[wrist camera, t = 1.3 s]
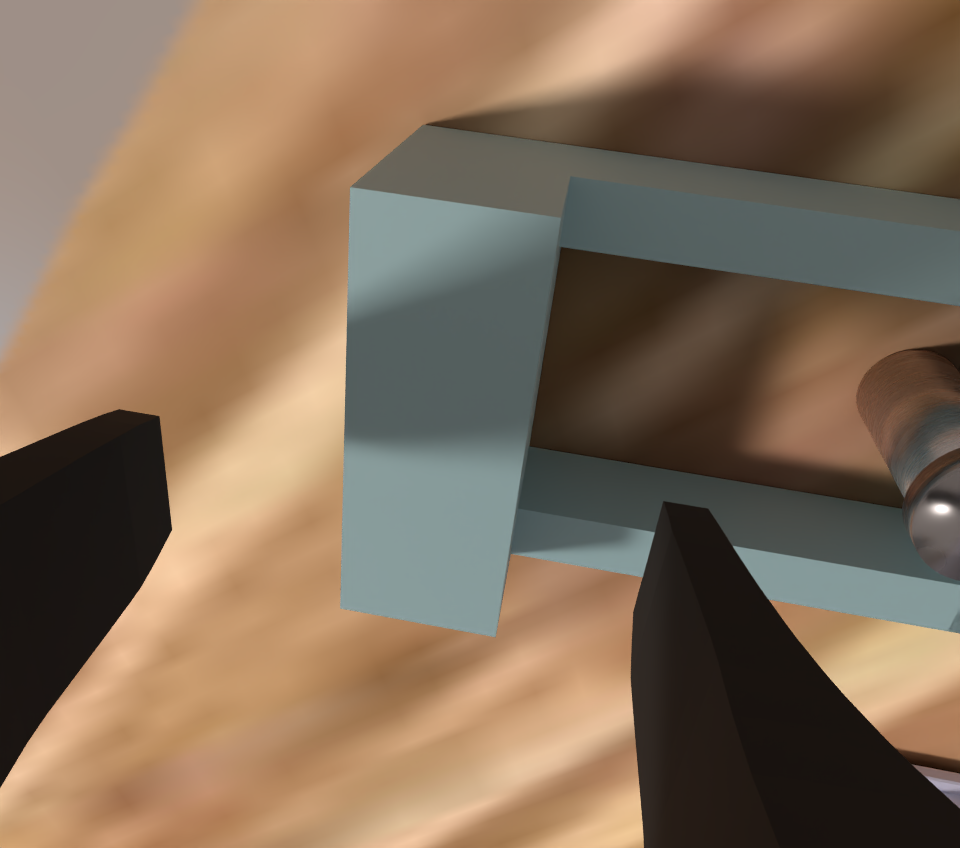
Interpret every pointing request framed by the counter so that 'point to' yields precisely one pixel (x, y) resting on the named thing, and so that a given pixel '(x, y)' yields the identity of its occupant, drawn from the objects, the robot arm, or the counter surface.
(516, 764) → the counter surface
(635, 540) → the link
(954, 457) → the peg
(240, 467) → the counter surface
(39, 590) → the robot arm
